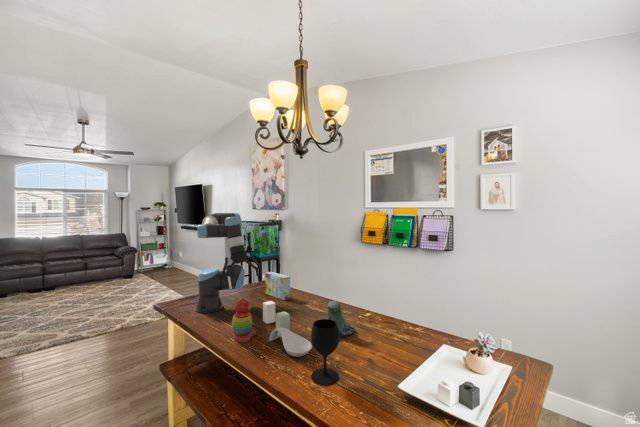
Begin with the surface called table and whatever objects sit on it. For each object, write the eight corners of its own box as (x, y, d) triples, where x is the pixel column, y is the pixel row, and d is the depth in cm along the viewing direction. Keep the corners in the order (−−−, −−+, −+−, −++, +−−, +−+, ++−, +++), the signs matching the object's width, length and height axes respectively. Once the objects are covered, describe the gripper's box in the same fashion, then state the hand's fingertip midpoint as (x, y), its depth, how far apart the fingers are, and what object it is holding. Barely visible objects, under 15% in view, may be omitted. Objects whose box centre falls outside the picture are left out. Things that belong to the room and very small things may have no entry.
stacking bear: (248, 343, 135) (247, 304, 134) (227, 341, 137) (227, 303, 136) (257, 332, 145) (257, 297, 145) (238, 331, 148) (238, 295, 147)
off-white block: (262, 320, 160) (262, 302, 160) (271, 318, 163) (271, 300, 163) (266, 323, 156) (266, 305, 156) (275, 321, 159) (275, 303, 158)
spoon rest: (317, 353, 127) (317, 337, 126) (296, 364, 118) (296, 346, 118) (282, 335, 143) (282, 321, 143) (262, 344, 134) (262, 328, 134)
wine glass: (310, 369, 114) (310, 318, 113) (336, 368, 115) (337, 317, 114) (311, 386, 104) (311, 330, 103) (341, 384, 105) (341, 329, 104)
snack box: (290, 298, 196) (290, 276, 195) (284, 301, 192) (284, 278, 191) (271, 292, 210) (271, 271, 209) (264, 293, 206) (264, 272, 205)
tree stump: (360, 326, 154) (359, 296, 149) (347, 353, 137) (346, 319, 132) (328, 318, 162) (326, 289, 157) (311, 342, 145) (309, 311, 139)
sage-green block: (275, 333, 145) (275, 313, 144) (284, 331, 148) (284, 311, 147) (280, 337, 141) (280, 316, 140) (289, 334, 143) (289, 314, 143)
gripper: (211, 250, 151) (218, 292, 148) (260, 240, 155) (267, 280, 153) (213, 251, 158) (220, 290, 155) (260, 241, 163) (268, 279, 160)
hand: (244, 285), depth 154 cm, fingers open, 13 cm apart
